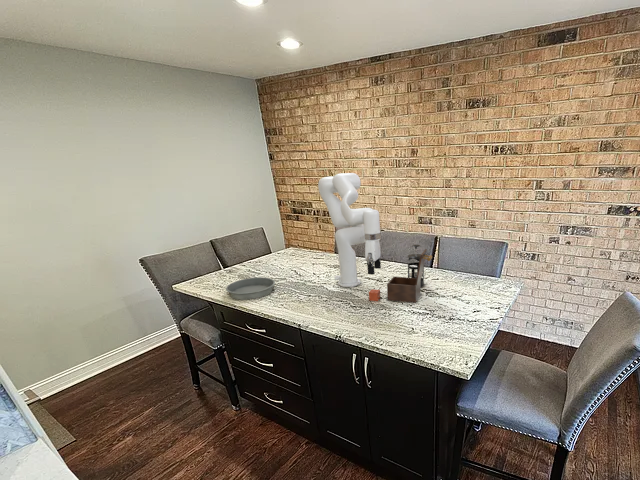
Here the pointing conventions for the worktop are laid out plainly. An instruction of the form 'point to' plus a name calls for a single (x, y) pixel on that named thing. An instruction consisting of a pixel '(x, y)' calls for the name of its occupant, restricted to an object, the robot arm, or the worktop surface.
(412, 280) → the caddy
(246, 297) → the cake pan
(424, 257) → the lid
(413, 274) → the french press
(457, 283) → the worktop surface
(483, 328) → the worktop surface
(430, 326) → the worktop surface
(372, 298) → the block
